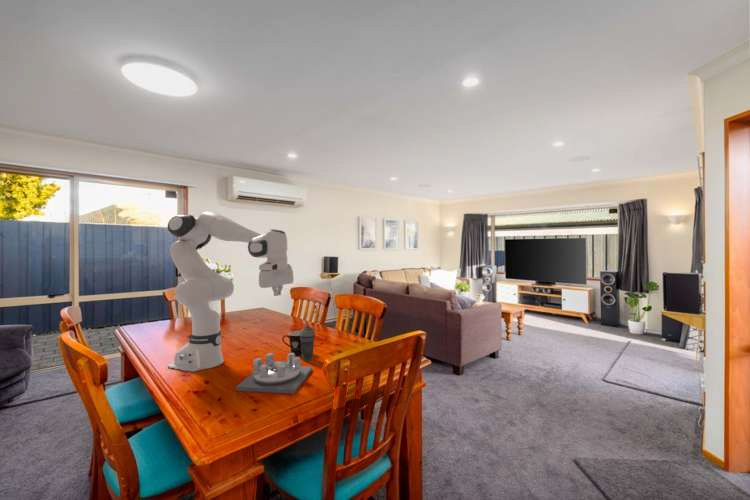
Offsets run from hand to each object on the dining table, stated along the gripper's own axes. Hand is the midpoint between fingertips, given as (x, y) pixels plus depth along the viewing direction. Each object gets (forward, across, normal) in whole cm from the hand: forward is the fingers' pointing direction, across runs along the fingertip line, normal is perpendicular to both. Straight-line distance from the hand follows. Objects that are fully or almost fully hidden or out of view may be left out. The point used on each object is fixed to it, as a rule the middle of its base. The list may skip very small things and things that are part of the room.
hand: (277, 295), depth 145 cm
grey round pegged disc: (+29, +15, +11) cm, 35 cm away
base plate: (+31, +15, +11) cm, 36 cm away
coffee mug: (+31, -15, -1) cm, 35 cm away
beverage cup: (+31, -9, +10) cm, 34 cm away
